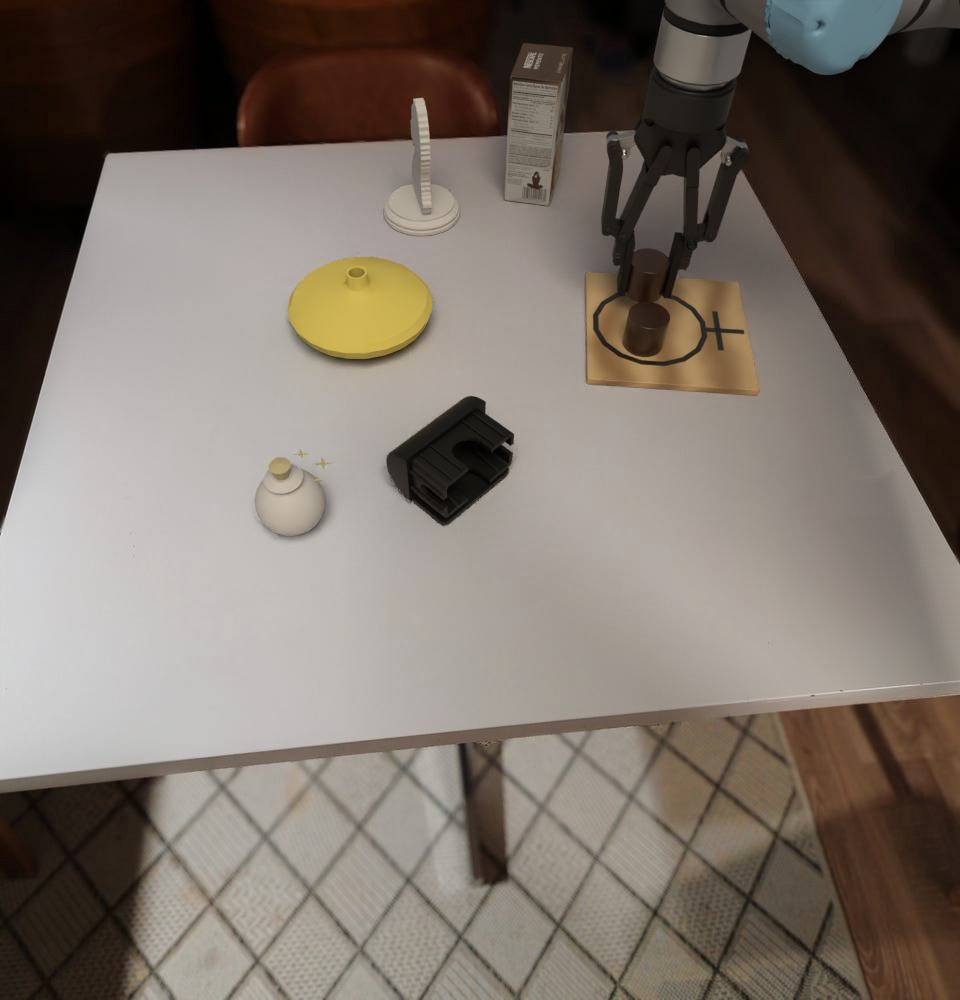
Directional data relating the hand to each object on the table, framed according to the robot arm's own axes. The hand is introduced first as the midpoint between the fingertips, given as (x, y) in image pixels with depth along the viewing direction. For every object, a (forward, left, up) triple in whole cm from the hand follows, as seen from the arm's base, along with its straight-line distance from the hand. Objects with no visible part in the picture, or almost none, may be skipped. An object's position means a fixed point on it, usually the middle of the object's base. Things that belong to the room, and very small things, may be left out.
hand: (643, 288), depth 86 cm
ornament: (+32, +32, -4) cm, 45 cm away
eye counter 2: (0, +6, -3) cm, 7 cm away
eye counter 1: (0, 0, 0) cm, 0 cm away
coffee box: (+13, -25, -4) cm, 28 cm away
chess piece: (+27, -17, -4) cm, 32 cm away
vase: (+31, +5, -4) cm, 32 cm away
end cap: (+19, +26, -4) cm, 32 cm away
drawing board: (-3, +3, -3) cm, 6 cm away
